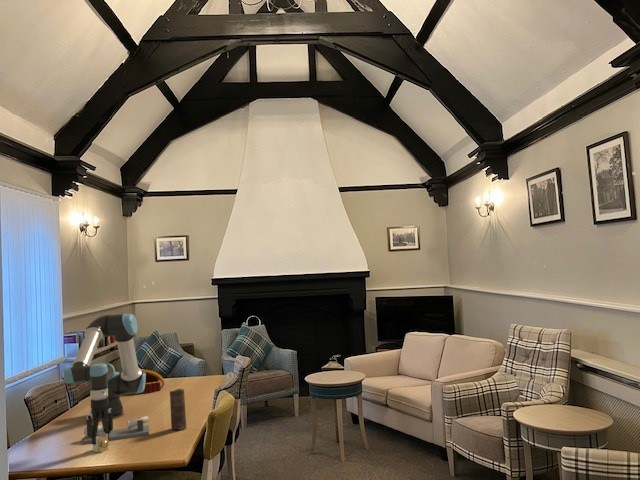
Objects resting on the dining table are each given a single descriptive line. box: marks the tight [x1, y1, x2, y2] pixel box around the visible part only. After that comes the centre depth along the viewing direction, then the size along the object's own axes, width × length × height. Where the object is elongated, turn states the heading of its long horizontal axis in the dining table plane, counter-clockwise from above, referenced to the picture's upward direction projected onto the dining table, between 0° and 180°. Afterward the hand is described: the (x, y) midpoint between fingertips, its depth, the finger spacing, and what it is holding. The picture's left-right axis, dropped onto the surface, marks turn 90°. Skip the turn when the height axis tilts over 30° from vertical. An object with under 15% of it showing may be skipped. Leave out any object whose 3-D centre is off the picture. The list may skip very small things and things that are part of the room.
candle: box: [169, 388, 187, 430], centre depth 262 cm, size 8×7×20 cm
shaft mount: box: [82, 415, 150, 445], centre depth 255 cm, size 30×12×8 cm, turn 108°
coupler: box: [97, 435, 109, 453], centre depth 235 cm, size 7×4×6 cm, turn 58°
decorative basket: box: [140, 368, 166, 394], centre depth 357 cm, size 34×29×15 cm
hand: (100, 449), depth 235 cm, fingers closed on coupler, 4 cm apart
